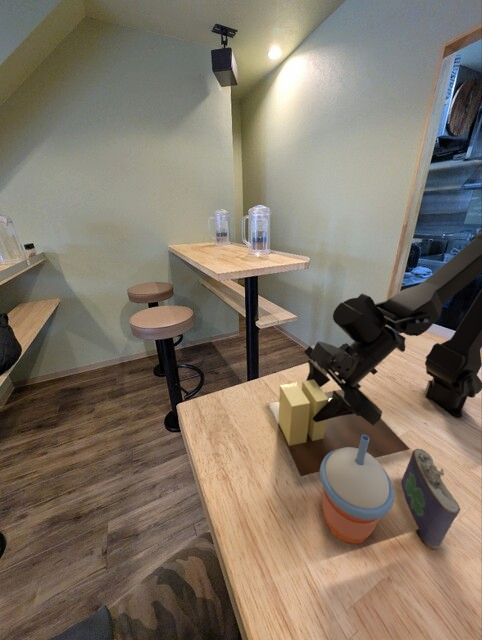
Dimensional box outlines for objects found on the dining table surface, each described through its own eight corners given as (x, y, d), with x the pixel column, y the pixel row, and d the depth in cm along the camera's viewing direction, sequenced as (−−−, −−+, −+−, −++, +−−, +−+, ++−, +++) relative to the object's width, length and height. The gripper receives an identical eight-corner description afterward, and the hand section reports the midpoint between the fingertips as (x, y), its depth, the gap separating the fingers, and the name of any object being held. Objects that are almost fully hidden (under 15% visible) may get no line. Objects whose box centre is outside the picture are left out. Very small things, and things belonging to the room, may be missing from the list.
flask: (443, 552, 34) (470, 504, 30) (420, 548, 35) (443, 501, 30) (412, 484, 43) (429, 439, 38) (393, 482, 43) (408, 437, 39)
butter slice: (309, 416, 55) (313, 379, 51) (323, 438, 50) (329, 399, 46) (299, 418, 55) (302, 381, 50) (312, 441, 49) (316, 401, 45)
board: (350, 392, 64) (351, 387, 63) (408, 454, 48) (410, 448, 47) (268, 408, 60) (268, 403, 59) (300, 481, 44) (300, 476, 43)
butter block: (294, 419, 54) (296, 382, 50) (306, 442, 49) (310, 403, 45) (278, 422, 54) (279, 385, 50) (289, 446, 48) (291, 406, 44)
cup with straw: (343, 576, 32) (368, 488, 25) (301, 506, 40) (310, 423, 33) (393, 540, 36) (428, 454, 28) (345, 482, 43) (363, 402, 36)
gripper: (316, 310, 52) (265, 362, 55) (380, 358, 35) (302, 431, 38) (345, 338, 57) (296, 385, 59) (413, 393, 40) (342, 455, 43)
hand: (306, 408), depth 50 cm, fingers closed on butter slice, 6 cm apart
